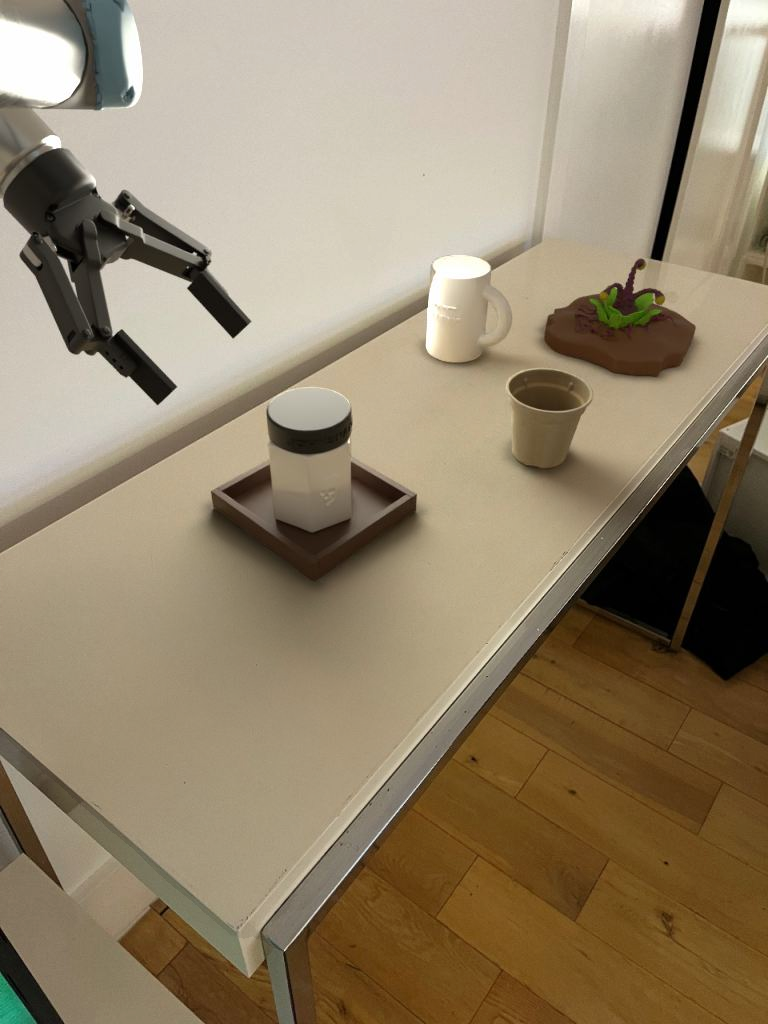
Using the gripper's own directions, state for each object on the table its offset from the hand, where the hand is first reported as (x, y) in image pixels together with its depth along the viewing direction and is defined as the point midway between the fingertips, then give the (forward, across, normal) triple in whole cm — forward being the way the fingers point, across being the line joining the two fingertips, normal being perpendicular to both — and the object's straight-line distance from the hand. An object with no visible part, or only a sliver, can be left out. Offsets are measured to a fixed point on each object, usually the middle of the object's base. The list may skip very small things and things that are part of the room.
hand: (207, 361), depth 73 cm
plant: (+36, -53, +13) cm, 65 cm away
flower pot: (+32, -20, +9) cm, 39 cm away
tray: (+18, -1, -5) cm, 19 cm away
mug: (+22, -40, -1) cm, 46 cm away
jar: (+18, -1, -4) cm, 19 cm away
